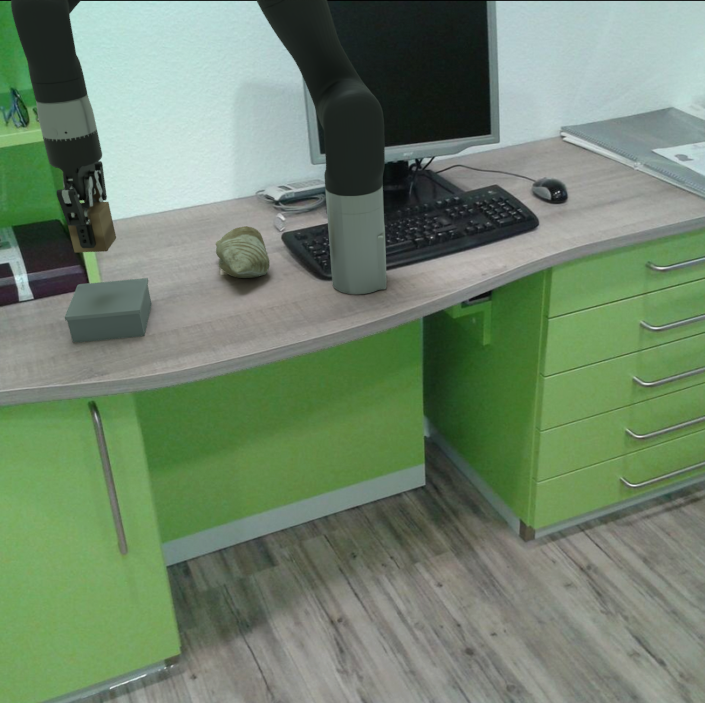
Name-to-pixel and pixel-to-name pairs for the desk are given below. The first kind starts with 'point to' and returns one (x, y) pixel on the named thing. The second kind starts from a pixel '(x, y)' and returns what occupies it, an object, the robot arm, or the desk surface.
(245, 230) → the seashell
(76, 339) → the grey-green square slab
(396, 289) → the desk surface
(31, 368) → the desk surface
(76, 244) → the brass block
